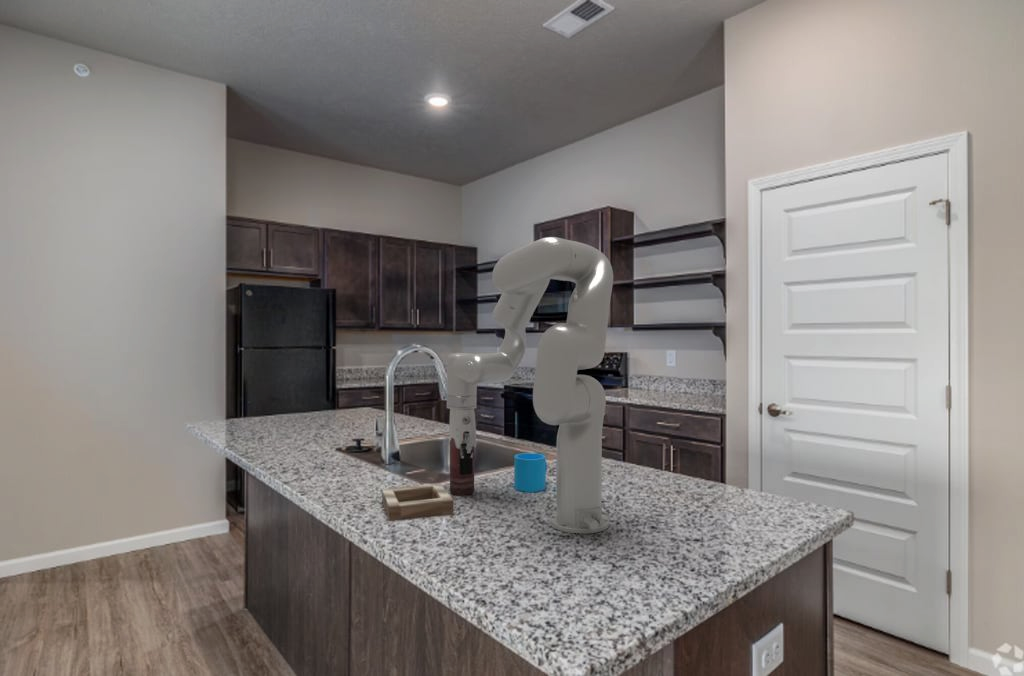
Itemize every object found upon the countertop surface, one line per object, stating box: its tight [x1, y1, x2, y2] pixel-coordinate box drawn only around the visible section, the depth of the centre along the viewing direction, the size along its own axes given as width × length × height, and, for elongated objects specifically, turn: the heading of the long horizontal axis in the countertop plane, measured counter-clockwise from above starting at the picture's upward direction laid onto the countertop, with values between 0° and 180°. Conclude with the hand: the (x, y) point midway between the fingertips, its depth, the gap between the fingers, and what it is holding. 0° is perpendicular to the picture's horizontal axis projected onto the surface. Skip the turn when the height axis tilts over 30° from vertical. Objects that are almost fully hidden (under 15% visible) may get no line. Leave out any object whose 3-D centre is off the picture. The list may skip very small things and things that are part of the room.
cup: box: [449, 438, 475, 497], centre depth 139 cm, size 6×6×14 cm
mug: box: [513, 452, 548, 493], centre depth 145 cm, size 12×8×8 cm
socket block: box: [381, 483, 454, 522], centre depth 126 cm, size 14×14×3 cm
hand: (460, 469), depth 139 cm, fingers open, 9 cm apart
